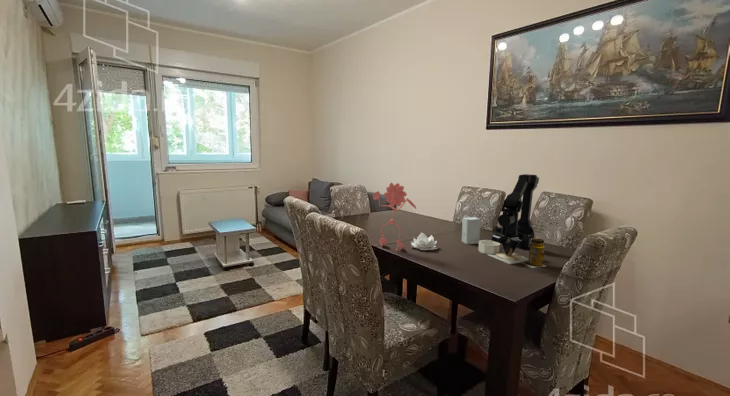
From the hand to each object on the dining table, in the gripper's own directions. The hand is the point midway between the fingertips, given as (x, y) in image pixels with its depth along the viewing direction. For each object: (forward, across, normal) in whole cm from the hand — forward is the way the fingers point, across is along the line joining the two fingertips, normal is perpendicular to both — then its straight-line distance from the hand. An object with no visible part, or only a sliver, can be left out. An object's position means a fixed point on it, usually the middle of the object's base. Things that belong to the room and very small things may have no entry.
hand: (508, 254), depth 164 cm
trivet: (+2, 0, 0) cm, 2 cm away
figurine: (+2, +44, -35) cm, 57 cm away
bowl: (+2, +2, -11) cm, 11 cm away
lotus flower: (+2, +30, -28) cm, 42 cm away
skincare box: (+2, 0, -27) cm, 27 cm away
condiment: (+2, -3, +12) cm, 12 cm away
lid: (+1, 0, 0) cm, 1 cm away
